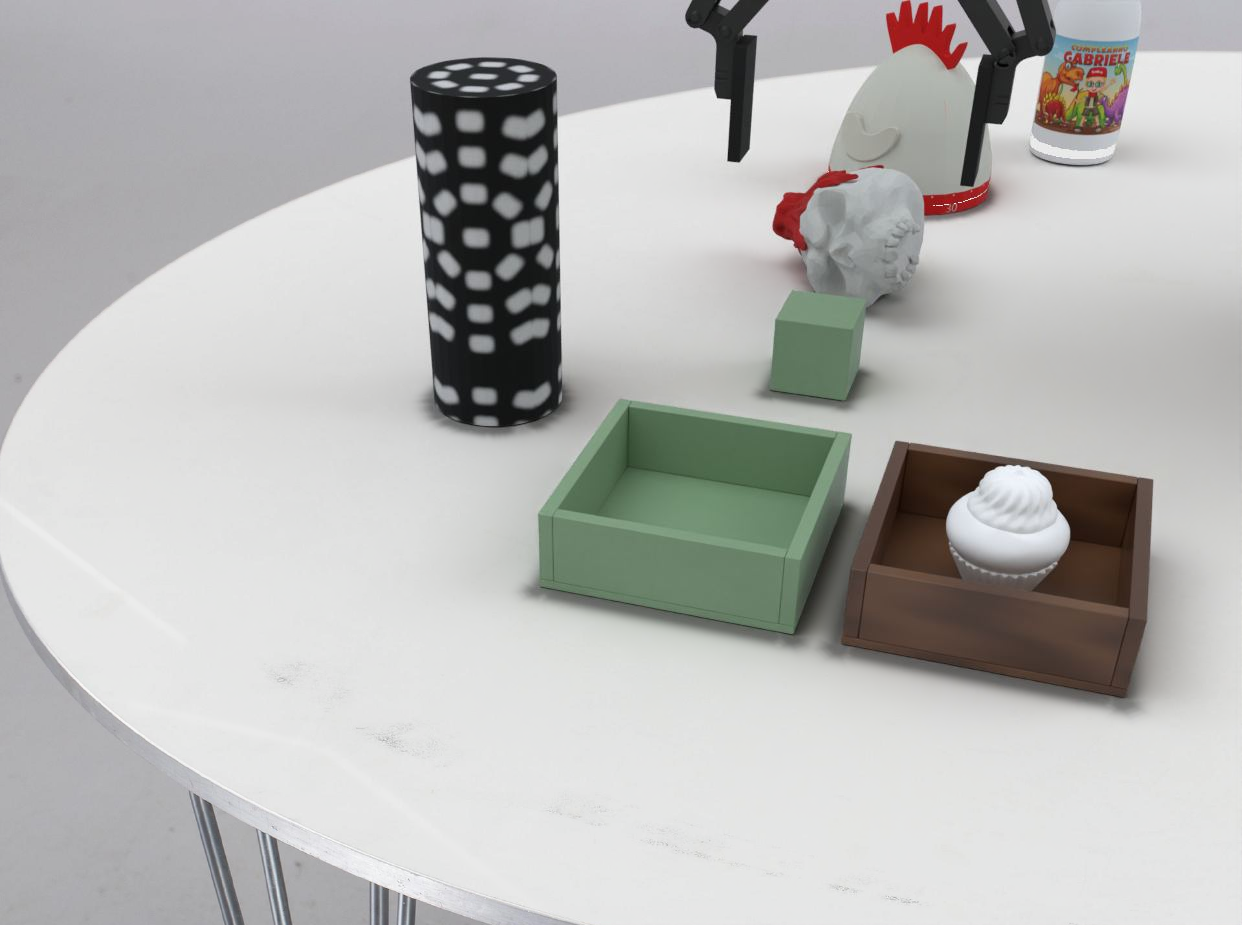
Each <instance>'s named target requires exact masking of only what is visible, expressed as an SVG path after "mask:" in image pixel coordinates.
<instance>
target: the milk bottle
mask: <svg viewBox="0 0 1242 925" xmlns="http://www.w3.org/2000/svg"><path fill="white" fill-rule="evenodd" d="M1142 14H1143V12H1142V0H1058V2H1057V5H1056V7H1055V10H1054V13H1053V15H1052V18H1053V21H1054V25H1055V28H1056V37H1055V42H1054V45H1053V49H1052V50H1051V52H1050V53H1049V54H1047V55H1045V56H1044V58H1043V62H1042V69H1041V74H1040V79H1039V85H1038V92H1037V97H1036V103H1035V108H1034V113H1033V118H1032V124H1031V131H1030V133H1031V132H1032V134H1033V136H1034V138H1036V139H1037V140H1038V141H1039V142H1042V143H1045V144H1048V145H1051V146H1052V147H1058V148H1061V149H1069V150H1073V151H1074V150H1077V151H1094V150H1095V151H1096V150H1099V149H1107V148H1108V147H1111V146H1112V145H1114V144H1115V143H1116V142H1117V143H1118V141H1117V140H1119V135H1120V133H1121V132H1120V131H1121V128H1122V122H1123V117H1124V113H1125V108H1126V103H1127V100H1128V93H1129V89H1130V84H1131V80H1132V76H1133V75H1132V74H1133V70H1134V64H1135V60H1136V55H1137V49H1138V44H1139V39H1140V33H1141V28H1142V27H1141V25H1142ZM1028 144H1029V149H1030V150H1029V151H1030V152H1031V153H1032V154H1033V155H1034V156H1036V157H1037V158H1040V159H1042V160H1046V161H1048V162H1051V163H1052V162H1053V163H1056V164H1064V165H1072V166H1076V165H1077V166H1089V165H1090V166H1091V165H1097V164H1102V163H1106V162H1108V161H1109V160H1111V159H1112V157H1113V156H1114V154H1115V153H1116V151H1115V152H1114V153H1113V154H1111V155H1109V156H1106V157H1102V158H1096V159H1070V158H1062V157H1056V156H1052V155H1048V154H1044V153H1042V152H1039V151H1037V150H1035V149H1034V148H1032V147H1031V145H1030V142H1029V143H1028Z"/></svg>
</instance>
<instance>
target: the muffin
mask: <svg viewBox="0 0 1242 925" xmlns="http://www.w3.org/2000/svg"><path fill="white" fill-rule="evenodd" d="M1052 497H1053V493H1052V488H1051V485H1050V483H1049V481H1048V480H1047V479H1046V477H1044V476H1043V475H1042V474H1041V473H1040V472H1038V471H1036V470H1032V469H1031V468H1029V467H1021V466H1019V465H1016V466H1011V465H1007V466H1005V467H1003V466H1000V467H997V468H995V470H991V471H989V472H988V473H986V474H985V476H984V478H983V479H982V480H981V481H980V483H979V487H977V488H976V490H975V491H973V492H970V493H968V494H967V495H965V496H963V497H962V498H961V499H959V500H958V501H957V502H956V503H955V504H954V505H953V506H952V508H951V509H950V511H949V513H948V516H947V521H946V532H947V536H948V539H949V541H950V542H949V546H950V551H951V553H952V556H953V558H954V560H955V563H956V565H957V568H958V570H959V572H960V575H961V577H962V579H963V580H968V581H974V582H979V583H985V584H991V585H997V586H1002V587H1008V588H1014V589H1020V590H1025V591H1032V590H1033V589H1034V588H1035V587H1036V586H1037V585H1038V584H1039V583H1040V582H1041V581H1042V580H1043V579H1044V578H1045V577H1046V576H1047V575H1048V574H1049V573H1050V572H1051V571H1052V570H1053V569H1054V568H1055V567H1056V566H1057V564H1058V563H1057V562H1058V561H1059V560H1060V557H1061V556H1062V555H1063V554H1064V552H1065V551H1066V549H1067V547H1068V544H1069V540H1070V528H1069V525H1068V523H1067V521H1066V519H1065V518H1064V516H1063V515H1062V514H1061V513H1060V511H1059V510H1058V509H1057V505H1056V503H1055V502H1054V501H1053V499H1052Z"/></svg>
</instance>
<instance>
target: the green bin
mask: <svg viewBox="0 0 1242 925" xmlns="http://www.w3.org/2000/svg"><path fill="white" fill-rule="evenodd" d="M852 437H853V433H851V432H844V431H837V430H830V429H824V428H817V427H810V426H804V425H798V424H797V425H796V424H790V423H786V422H785V423H784V422H778V421H771V420H764V419H758V418H751V417H746V416H745V417H744V416H740V415H739V416H738V415H731V414H724V413H720V412H719V413H717V412H713V411H705V410H698V409H692V408H687V407H686V408H685V407H679V406H671V405H665V404H659V403H653V402H646V401H645V402H644V401H641V400H639V401H638V400H631V399H627V398H618V400H617V402H616V403H615V404H614V405H613V407H612V409H611V410H610V412H609V413H608V414H607V415H606V417H605V419H604V420H602V422H601V424H600V425H599V427H598V428H597V429H596V430H595V432H594V434H593V435H592V436H591V438H590V439H589V441H588V443H587V444H586V445H585V446H584V448H583V449H582V451H581V452H580V454H579V455H578V456H577V458H576V459H575V461H574V462H573V464H572V465H571V466H570V467H569V469H568V470H567V471H566V473H565V475H564V476H563V478H562V479H561V480H560V482H559V483H558V485H557V486H556V487H555V489H554V490H553V492H552V493H551V494H550V496H549V497H548V499H547V500H546V501H545V503H544V505H543V506H542V508H540V510H539V512H538V513H537V524H538V525H537V526H538V528H537V529H538V530H537V531H538V560H539V561H538V562H539V564H538V565H539V586H540V588H547V589H551V590H557V591H560V592H561V591H563V592H567V593H571V594H576V595H577V594H578V595H582V596H583V595H584V596H587V597H588V596H589V597H594V598H599V599H604V600H609V601H613V602H614V601H615V602H619V603H625V604H631V605H635V606H636V605H637V606H641V607H645V608H652V609H657V610H661V611H662V610H663V611H667V612H672V613H678V614H682V615H687V616H693V617H698V618H699V617H700V618H704V619H710V620H714V621H719V622H724V623H725V622H726V623H730V624H736V625H737V624H738V625H740V626H741V625H742V626H746V627H751V628H756V629H762V630H767V631H772V632H777V633H784V634H789V635H794V634H795V632H796V628H797V627H798V624H799V622H800V618H801V616H802V613H803V611H804V608H805V605H806V603H807V600H808V597H809V595H810V593H811V590H812V587H813V584H814V582H815V580H816V576H817V574H818V572H819V569H820V566H821V563H822V561H823V559H824V556H825V554H826V550H827V548H828V545H829V543H830V540H831V537H832V534H833V533H834V530H835V527H836V524H837V522H838V519H839V516H840V514H841V511H842V508H843V506H844V504H845V495H846V488H847V480H848V472H849V471H848V470H849V462H850V454H851V444H852Z"/></svg>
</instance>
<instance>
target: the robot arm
mask: <svg viewBox="0 0 1242 925" xmlns="http://www.w3.org/2000/svg"><path fill="white" fill-rule="evenodd" d="M1015 1H1016V2H1015V3H1016V5H1017V8H1018V11H1019V16H1020V18H1021V21H1022V24H1023V28H1024V29H1022V30H1019V31H1016V30H1015V28H1014V26H1013V25H1012V23H1011V21H1010V20H1009V18H1008V17H1007V15H1006V14H1005V12H1004V10H1003V9H1002V7H1001V5H1000V3H999V2H998V1H997V0H957V2H958V3H959V5H960V7H961V8H962V10H963V12H964V13H965V15H966V16H967V18H968V20H969V21H970V23H971V24H972V26H973V27H974V29H975V31H976V32H977V35H978V36H979V38H980V39H981V40H982V42H983V44H984V45H985V47H986V49H987V51H988V52H989V53H990V54H987V53H983V54H982V55H981V59H980V61H979V64H978V68H977V73H976V81H975V92H974V99H973V105H972V111H971V118H970V124H969V131H968V137H967V143H966V150H965V156H964V163H963V169H962V176H961V182H960V186H968V187H973V186H974V183H975V180H976V177H977V174H978V169H979V163H980V157H981V151H982V145H983V138H984V132H985V126H986V123H988V125H989V124H990V125H1001V126H1002V125H1003V123H1004V122H1005V120H1006V118H1007V117H1008V114H1009V112H1010V106H1011V100H1012V93H1013V89H1014V82H1015V78H1016V77H1015V76H1016V70H1017V67H1018V65H1019V64H1020V63H1021V62H1023V61H1024V60H1027V59H1031V58H1033V57H1045V55H1047V54H1049V53H1050V52H1051V50H1052V49H1053V45H1054V42H1055V37H1056V28H1055V25H1054V21H1053V14H1052V11H1051V8H1050V4H1049V0H1015ZM721 2H722V0H691V1H690V3H689V5H688V8H687V10H686V11H685V14H684V20H685V23H686V24H687V26H689V28H692V29H700V30H702V31H703V32H706V33H708V34H709V35H710V36H712V37H713V39H714V40H715V41H714V42H715V47H716V48H715V66H714V85H713V90H714V93H715V96H716V97H715V98H716V99H718V100H730V103H729V104H730V107H729V124H728V138H727V140H728V141H727V156H726V157H727V158H726V162H728V163H729V162H730V163H737V164H738V163H741V162H742V160H743V159H744V157H745V156H746V155H747V154H748V152H749V150H751V135H752V134H751V133H752V121H753V119H752V118H753V105H754V90H755V74H756V59H757V47H758V46H757V45H758V44H757V43H758V35H756V34H755V35H754V34H744V29H745V28H746V27H747V26H748V25H749V24H750V22H751V21H752V20H753V19H754V18H755V17H756V16H757V14H758V13H759V12H760V11H761V10H762V9H763V8H764V7H765V6H766V4H767V3H768V2H770V0H738V1H737V2H736V3H735V4H734V5H733V6H732V7H731V8H730V9H728V8H727V7H724V6H722V5H720V4H721Z"/></svg>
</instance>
